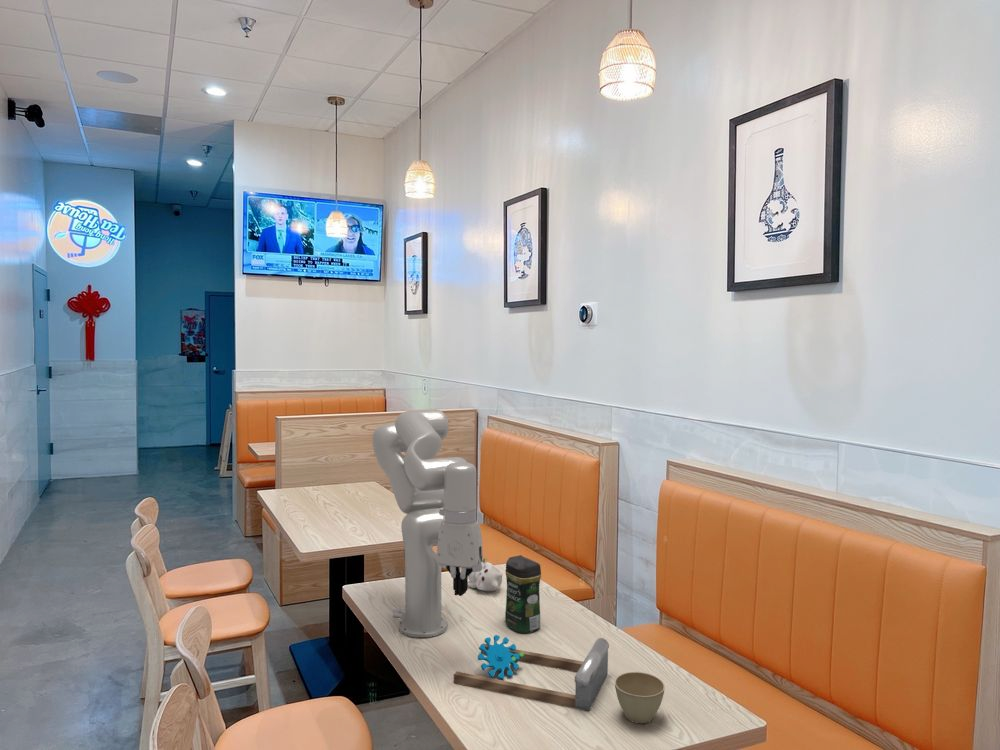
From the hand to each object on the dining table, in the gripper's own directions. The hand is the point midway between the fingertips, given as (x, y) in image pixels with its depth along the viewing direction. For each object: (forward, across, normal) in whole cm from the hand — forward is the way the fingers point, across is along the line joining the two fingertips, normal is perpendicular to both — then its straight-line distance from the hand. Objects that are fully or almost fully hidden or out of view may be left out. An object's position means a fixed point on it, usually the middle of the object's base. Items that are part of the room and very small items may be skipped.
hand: (460, 593), depth 165 cm
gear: (+18, +10, +1) cm, 20 cm away
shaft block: (+18, +32, 0) cm, 36 cm away
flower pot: (+18, +43, -7) cm, 47 cm away
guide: (+17, +16, 0) cm, 24 cm away
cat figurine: (+17, -14, +48) cm, 53 cm away
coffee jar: (+17, +6, +26) cm, 32 cm away
